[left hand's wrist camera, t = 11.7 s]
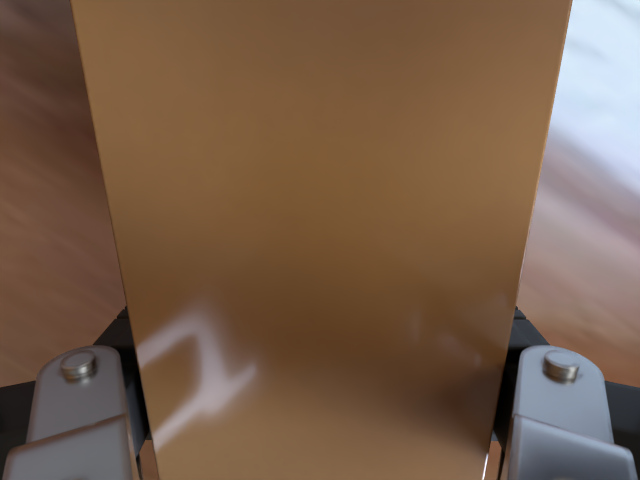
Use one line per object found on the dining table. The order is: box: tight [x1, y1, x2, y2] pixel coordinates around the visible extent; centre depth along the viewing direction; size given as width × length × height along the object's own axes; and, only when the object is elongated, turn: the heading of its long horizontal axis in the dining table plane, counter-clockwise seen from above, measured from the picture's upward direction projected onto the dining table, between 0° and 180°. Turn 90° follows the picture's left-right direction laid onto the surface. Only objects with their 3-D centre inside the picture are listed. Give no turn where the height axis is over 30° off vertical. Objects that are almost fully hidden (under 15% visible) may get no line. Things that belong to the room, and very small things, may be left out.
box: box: [70, 0, 573, 480], centre depth 10 cm, size 22×6×12 cm, turn 0°
